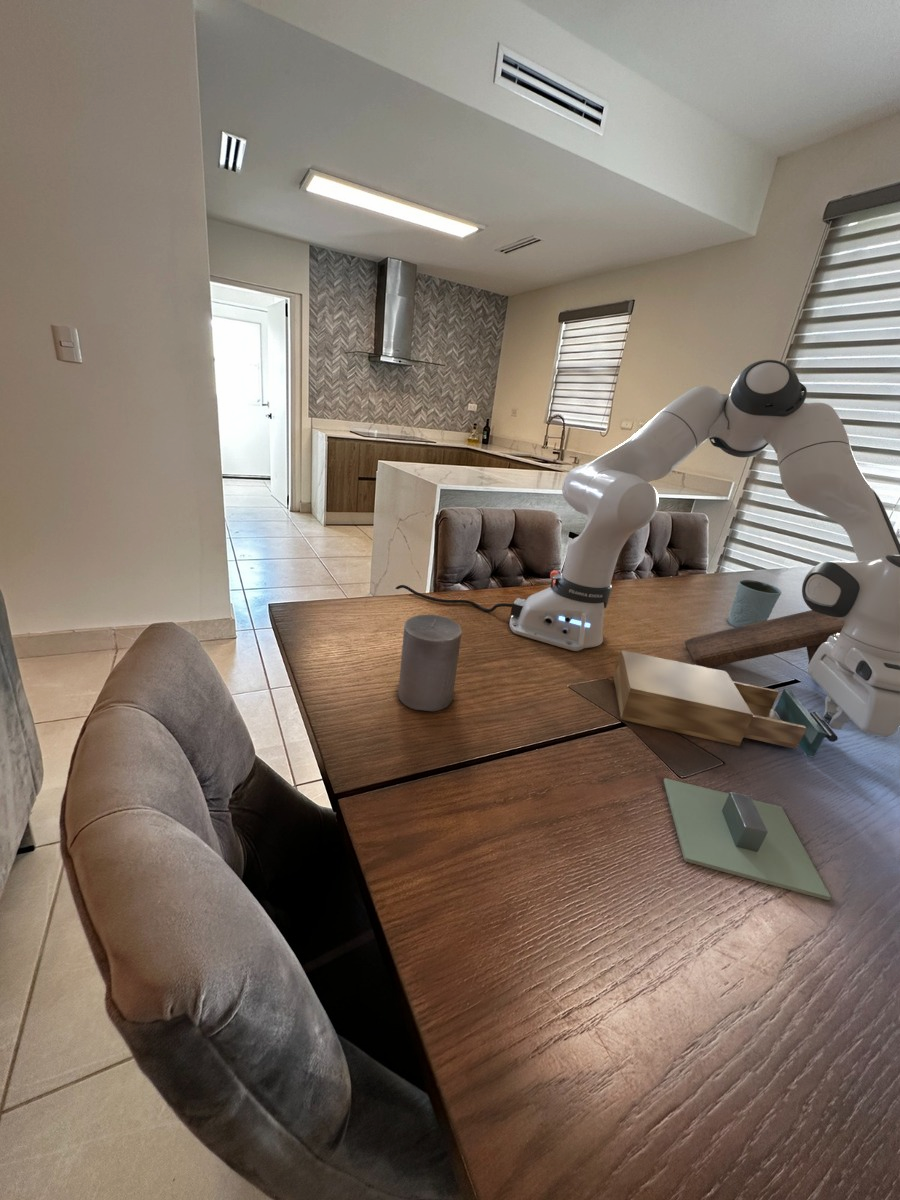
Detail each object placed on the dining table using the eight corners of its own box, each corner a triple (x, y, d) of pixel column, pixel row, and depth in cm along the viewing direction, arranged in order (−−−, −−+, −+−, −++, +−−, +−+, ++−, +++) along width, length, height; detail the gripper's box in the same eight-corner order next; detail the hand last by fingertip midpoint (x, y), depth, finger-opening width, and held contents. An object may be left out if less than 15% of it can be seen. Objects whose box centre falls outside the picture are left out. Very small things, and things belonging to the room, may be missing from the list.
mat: (684, 861, 57) (685, 858, 57) (663, 780, 70) (664, 777, 70) (829, 901, 54) (831, 897, 54) (780, 809, 67) (781, 806, 67)
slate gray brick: (735, 846, 59) (745, 826, 58) (721, 810, 65) (730, 791, 64) (757, 852, 59) (768, 832, 58) (741, 815, 64) (750, 796, 63)
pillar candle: (427, 675, 89) (435, 603, 83) (464, 700, 83) (475, 624, 77) (386, 692, 83) (392, 614, 77) (422, 720, 76) (432, 638, 71)
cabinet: (715, 699, 93) (726, 671, 91) (739, 746, 80) (753, 714, 77) (613, 678, 96) (621, 649, 94) (620, 719, 83) (630, 688, 81)
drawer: (804, 716, 90) (814, 695, 88) (841, 763, 77) (854, 739, 76) (679, 689, 93) (687, 668, 92) (696, 730, 81) (705, 707, 79)
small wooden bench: (709, 716, 108) (864, 688, 98) (694, 658, 103) (855, 623, 94) (697, 692, 117) (837, 664, 108) (683, 638, 113) (828, 604, 103)
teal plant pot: (765, 625, 134) (781, 586, 129) (765, 637, 126) (782, 596, 121) (725, 614, 138) (740, 576, 134) (723, 625, 130) (738, 585, 126)
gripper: (815, 625, 87) (786, 689, 92) (882, 682, 68) (841, 757, 74) (853, 632, 86) (821, 696, 91) (932, 692, 67) (886, 767, 72)
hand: (830, 724), depth 82 cm, fingers closed, pressing on drawer
